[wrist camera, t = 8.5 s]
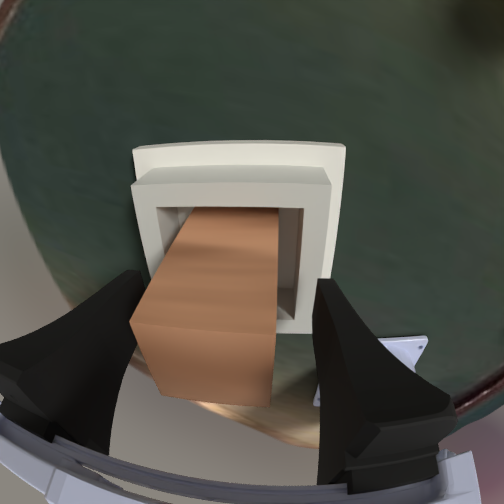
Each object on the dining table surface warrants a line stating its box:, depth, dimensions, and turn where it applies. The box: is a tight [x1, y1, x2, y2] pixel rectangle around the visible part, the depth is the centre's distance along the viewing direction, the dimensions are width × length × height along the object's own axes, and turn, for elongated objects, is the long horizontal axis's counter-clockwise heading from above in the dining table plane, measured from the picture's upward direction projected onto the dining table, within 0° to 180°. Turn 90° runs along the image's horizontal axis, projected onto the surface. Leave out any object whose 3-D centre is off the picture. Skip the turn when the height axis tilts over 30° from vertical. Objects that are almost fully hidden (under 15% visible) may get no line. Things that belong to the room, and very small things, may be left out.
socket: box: [131, 140, 346, 334], centre depth 14 cm, size 10×10×3 cm
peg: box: [129, 206, 279, 407], centre depth 12 cm, size 4×4×8 cm
